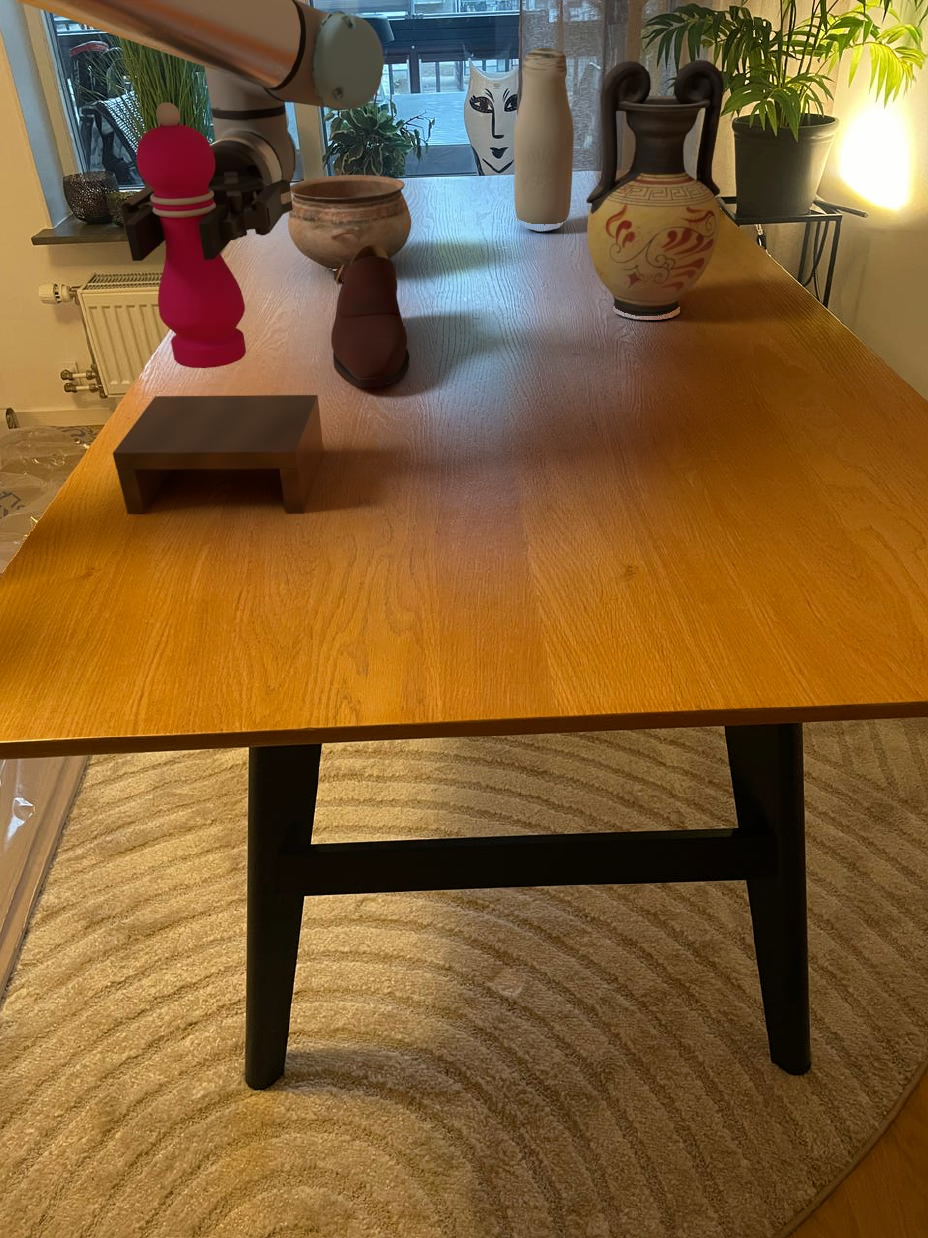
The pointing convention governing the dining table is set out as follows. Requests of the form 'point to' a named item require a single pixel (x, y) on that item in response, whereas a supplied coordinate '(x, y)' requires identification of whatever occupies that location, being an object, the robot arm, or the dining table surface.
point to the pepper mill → (190, 246)
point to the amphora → (655, 189)
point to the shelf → (222, 442)
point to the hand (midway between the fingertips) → (169, 242)
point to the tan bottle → (543, 140)
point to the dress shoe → (369, 321)
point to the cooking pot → (348, 217)
